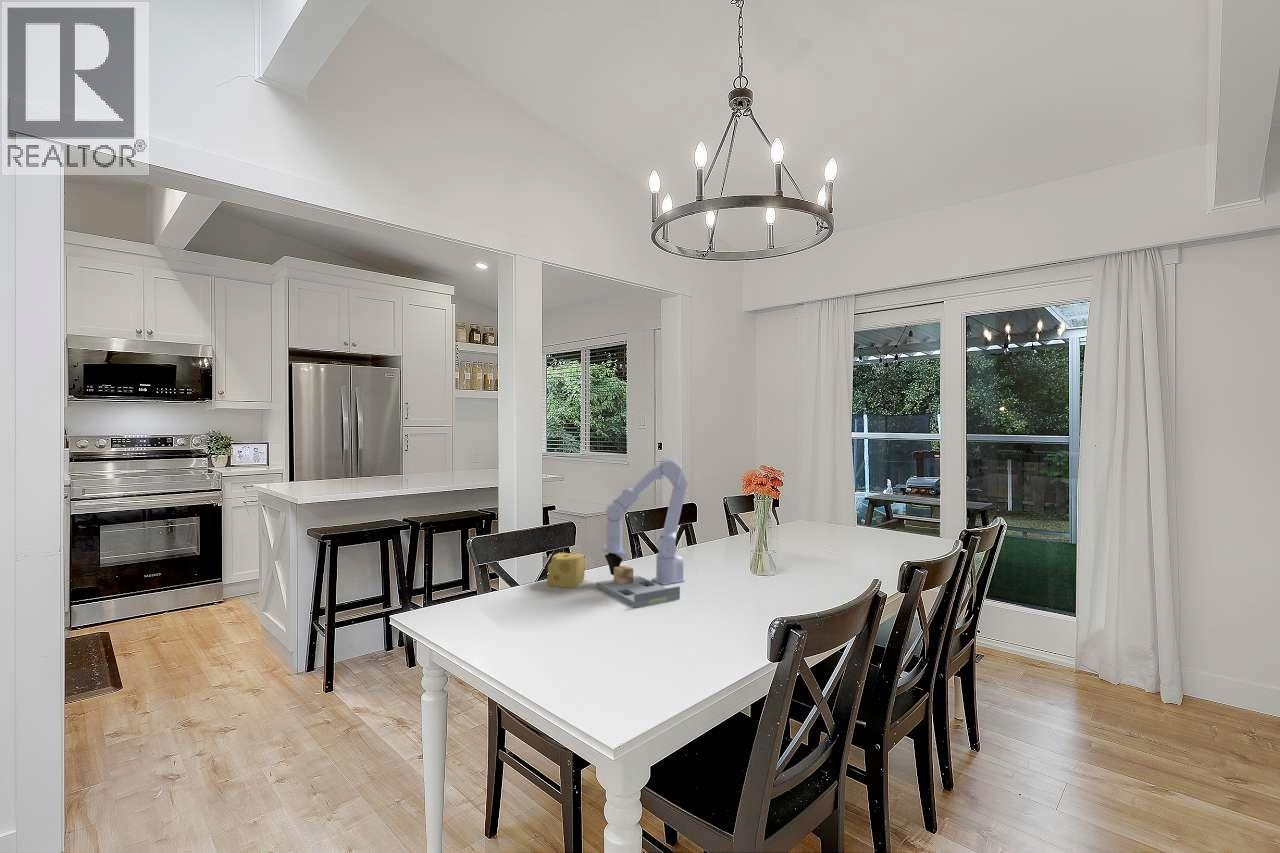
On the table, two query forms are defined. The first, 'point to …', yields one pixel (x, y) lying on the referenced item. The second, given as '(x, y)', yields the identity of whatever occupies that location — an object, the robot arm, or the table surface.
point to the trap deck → (640, 591)
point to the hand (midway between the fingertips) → (614, 574)
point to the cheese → (566, 570)
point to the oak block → (623, 575)
